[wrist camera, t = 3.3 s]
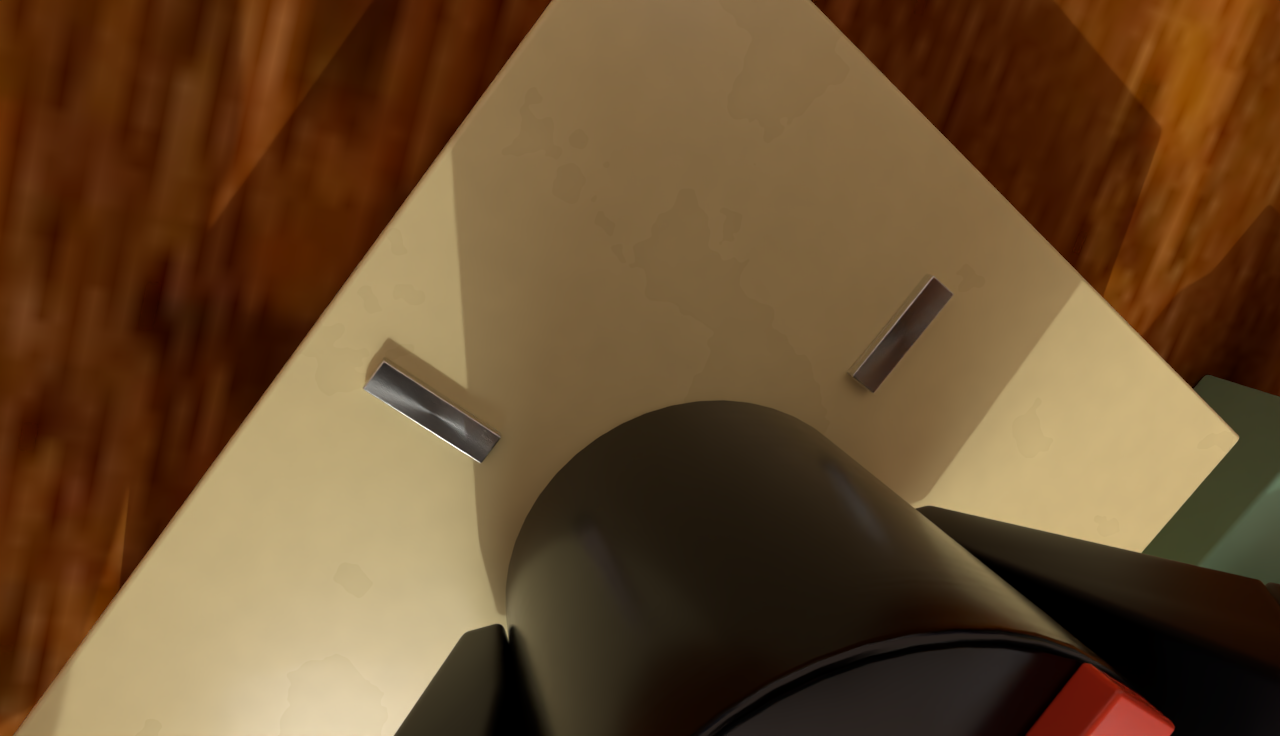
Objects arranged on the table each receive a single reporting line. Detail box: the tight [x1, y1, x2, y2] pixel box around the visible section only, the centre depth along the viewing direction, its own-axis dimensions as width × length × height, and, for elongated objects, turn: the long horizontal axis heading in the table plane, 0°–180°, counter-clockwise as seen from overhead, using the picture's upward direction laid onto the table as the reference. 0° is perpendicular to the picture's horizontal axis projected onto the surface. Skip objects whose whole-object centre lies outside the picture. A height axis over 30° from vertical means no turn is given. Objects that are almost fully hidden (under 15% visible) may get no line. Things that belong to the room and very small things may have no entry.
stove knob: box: [505, 400, 1175, 736], centre depth 7 cm, size 4×4×5 cm
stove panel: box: [13, 0, 1239, 736], centre depth 11 cm, size 11×10×3 cm
